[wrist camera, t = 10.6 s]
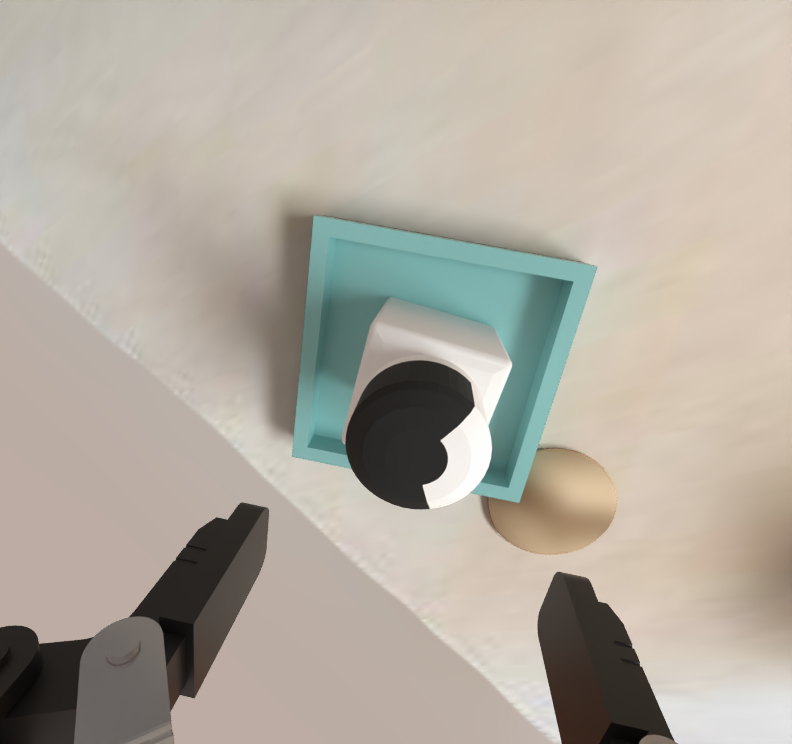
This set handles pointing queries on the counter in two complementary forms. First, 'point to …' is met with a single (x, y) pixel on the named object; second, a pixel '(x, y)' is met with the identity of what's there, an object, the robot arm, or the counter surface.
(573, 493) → the cork coaster
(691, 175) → the counter surface
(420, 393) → the white square bottle
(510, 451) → the tray
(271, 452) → the counter surface
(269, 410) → the counter surface
